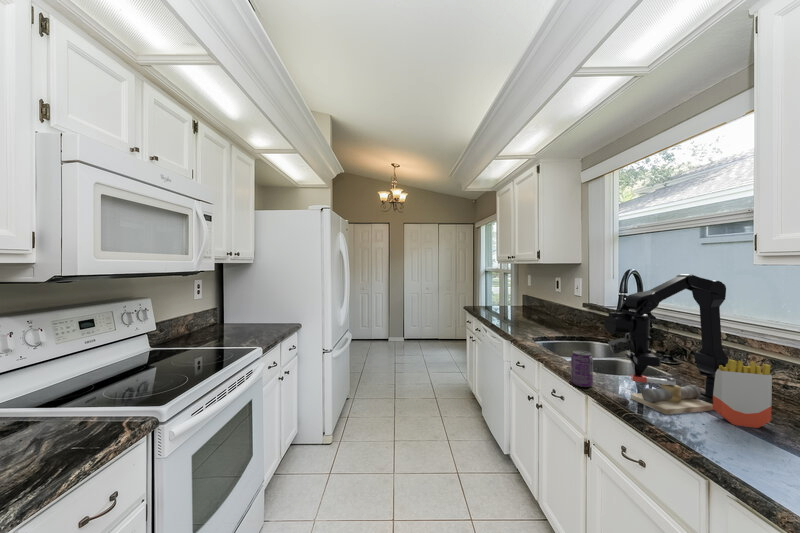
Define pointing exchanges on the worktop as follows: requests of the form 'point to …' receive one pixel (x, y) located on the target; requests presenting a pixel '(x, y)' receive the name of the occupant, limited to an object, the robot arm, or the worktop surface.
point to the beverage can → (582, 368)
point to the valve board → (675, 406)
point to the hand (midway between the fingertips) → (637, 378)
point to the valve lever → (653, 380)
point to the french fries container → (743, 393)
